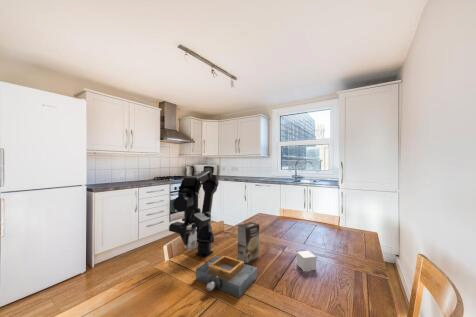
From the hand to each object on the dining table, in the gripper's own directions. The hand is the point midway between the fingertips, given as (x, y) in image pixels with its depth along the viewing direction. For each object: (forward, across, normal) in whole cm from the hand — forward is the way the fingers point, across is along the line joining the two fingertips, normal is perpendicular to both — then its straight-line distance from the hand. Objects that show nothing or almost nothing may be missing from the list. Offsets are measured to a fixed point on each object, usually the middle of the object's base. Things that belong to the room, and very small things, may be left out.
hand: (190, 243), depth 84 cm
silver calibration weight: (+2, 0, 0) cm, 2 cm away
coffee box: (+12, +24, -15) cm, 31 cm away
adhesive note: (+12, +30, -41) cm, 52 cm away
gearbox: (+12, +2, -16) cm, 20 cm away
